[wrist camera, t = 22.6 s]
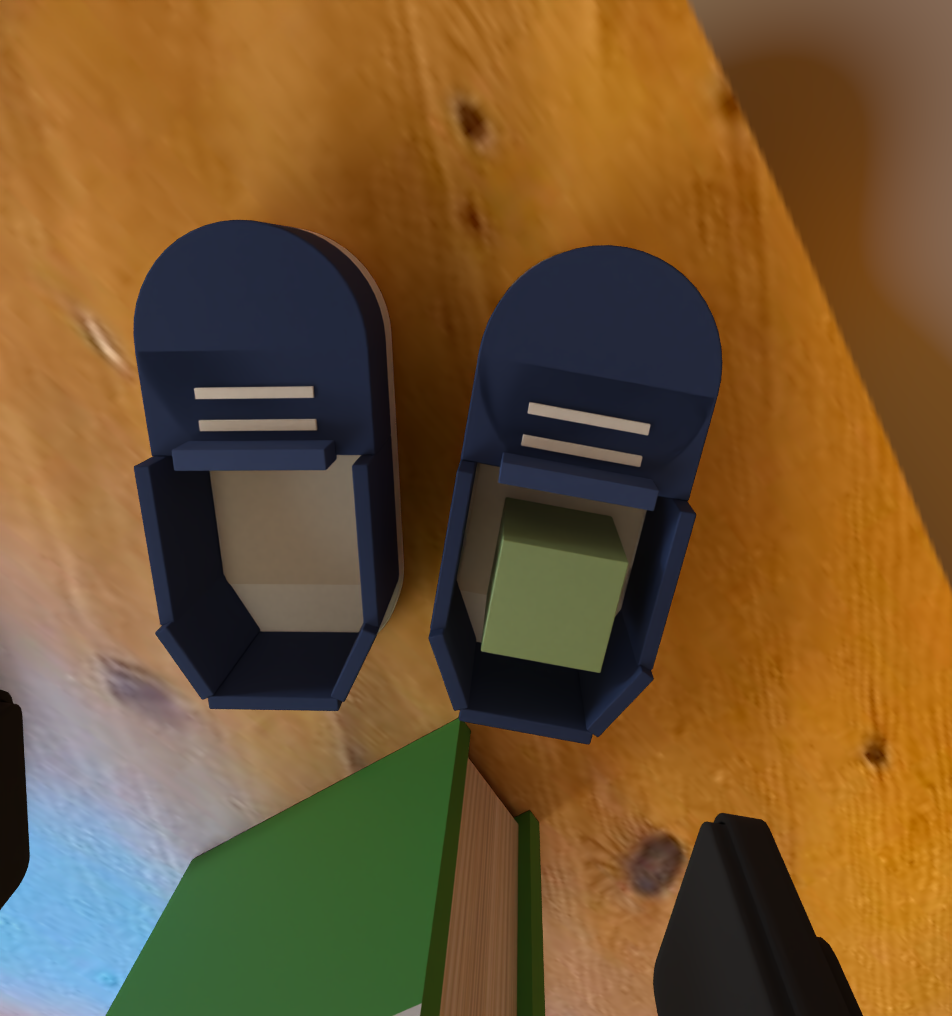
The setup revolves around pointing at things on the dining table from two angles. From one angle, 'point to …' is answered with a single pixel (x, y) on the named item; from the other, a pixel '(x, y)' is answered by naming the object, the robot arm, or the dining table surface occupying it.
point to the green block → (553, 585)
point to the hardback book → (360, 904)
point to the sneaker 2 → (579, 470)
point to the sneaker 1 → (268, 463)
